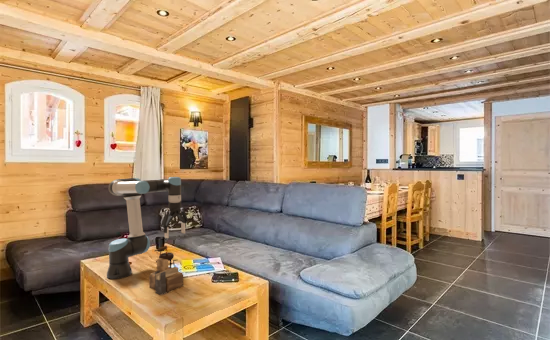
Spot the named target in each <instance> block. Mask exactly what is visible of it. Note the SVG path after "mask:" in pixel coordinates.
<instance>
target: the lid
mask: <svg viewBox="0 0 550 340" xmlns="http://www.w3.org/2000/svg"><path fill="white" fill-rule="evenodd" d="M156 260H157V263H156V271H159V270H160V272H163V271H165V270H168V269H169V267H170V266H169V261H168V260H167V259H162V258H159V257H158V258H157V259H156ZM156 271H153V272H152V273H149V276H152V277H155V272H156ZM183 273H184V272H182V271H178V273H176V274H173V275H171V276H169V277H166V280H167V281H169V280H171V279H174V278H176V277H178V276H181V275H183V276H184V274H183Z"/></svg>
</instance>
